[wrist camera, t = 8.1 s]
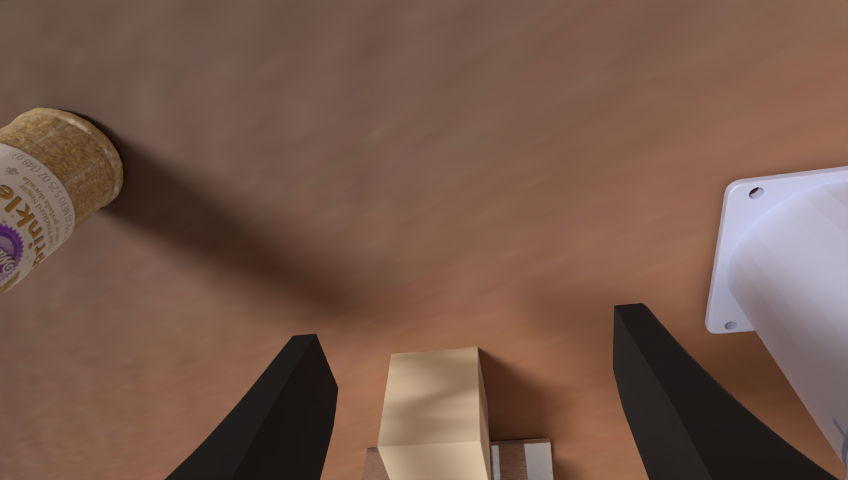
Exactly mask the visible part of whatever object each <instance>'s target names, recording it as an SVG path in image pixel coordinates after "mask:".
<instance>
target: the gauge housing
mask: <svg viewBox="0 0 848 480" xmlns="http://www.w3.org/2000/svg"><path fill="white" fill-rule="evenodd" d="M491 445H492V450H493V469H494V480H553V470H552V457H551V445H550V438H541V439H524V440H506V441H491ZM362 480H390V479H389V476H388V473H387V471H386V468H385V466H384V463H383V460H382V458H381V455H380V453H379V450H378V448H367V454H366V460H365V466H364V471H363V477H362Z"/></svg>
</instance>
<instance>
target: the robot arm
mask: <svg viewBox="0 0 848 480" xmlns="http://www.w3.org/2000/svg"><path fill="white" fill-rule="evenodd" d="M757 187H759V189H758V191H756V192H755V193H753V194H749V193H750V191H751V190H752V189H754V188H757ZM731 321H732V322H731ZM728 322H730V323H728ZM726 323H728V324H726ZM705 326H706V328H707V330H708V331H709V332H711V333H713V334H720V333H732V332H744V331H756V333H757V334H758V336H759V337H760V339H761V340H762V342H763V343H764V345H765V346H766V348H767V349H768V351H769V352H770V354H771V356H772V357H773V359H774V360H775V362H776V363H777V365H778V366H779V368H780V369H781V371H782V372H783V374H784V375H785V377H786V378H787V380H788V381H789V383H790V384H791V386H792V387H793V389H794V391H795V392H796V394H797V395H798V397H799V398H800V400H801V401H802V403H803V404H804V406H805V407H806V409H807V410H808V412H809V413H810V415H811V416H812V418H813V419H814V421H815V423H816V424H817V426H818V427H819V429H820V430H821V432H822V433H823V435H824V436H825V438H826V439H827V441H828V442H829V444H830V445H831V447H832V448H833V450H834V451H835V453H836V454H837V456H838V458H839V459H840V461H841V462H842V464H843V465H844V467H845V468H846V470H847V474H846V477H845V478H844V480H848V166H844V167H836V168H828V169H820V170H812V171H804V172H796V173H788V174H780V175H772V176H764V177H756V178H748V179H740V180H737V181H734V182H732V183H731V184H730V185H729V186H728V187H727V188H726V191H725V195H724V201H723V207H722V214H721V220H720V227H719V233H718V240H717V246H716V253H715V259H714V266H713V272H712V279H711V285H710V291H709V298H708V304H707V311H706V317H705ZM613 370H614V374H615V378H616V382H617V387H618V391H619V395H620V399H621V403H622V406H623V410H624V413H625V415H626V418H627V421H628V424H629V426H630V429H631V432H632V434H633V437H634V440H635V443H636V445H637V448H638V451H639V453H640V456H641V459H642V461H643V464H644V467H645V469H646V472H647V475H648V477H649V480H839V479H837V478H836V477H834V476H833V475H831V474H830V473H828V472H827V471H825V470H824V469H822V468H821V467H820V466H818V465H817V464H815V463H814V462H813V461H811V460H810V459H809V458H807V457H806V456H805V455H803V454H802V453H801V452H799V451H798V450H797V449H795V448H794V447H793V446H791V445H790V444H789V443H787V442H786V441H785V440H784V439H782V438H781V437H780V436H779V435H777V434H776V433H775V432H774V431H772V430H771V429H770V428H769V427H767V426H766V425H765V424H764V423H762V422H761V421H760V420H759V419H758V418H757V417H755V416H754V415H753V414H752V413H751V412H750V411H748V410H747V409H746V408H745V407H744V406H743V405H742V404H740V403H739V402H738V401H737V400H736V399H735V398H734V397H733V396H732V395H730V394H729V393H728V392H727V391H726V390H725V389H724V388H723V387H722V386H721V385H720V384H719V383H718V382H716V381H715V380H714V379H713V378H712V377H711V376H710V375H709V374H708V373H707V372H706V371H705V370H704V369H703V368H702V367H701V366H700V365H699V364H698V363H697V362H696V361H695V360H694V359H693V358H692V357H691V356H690V355H689V354H688V353H687V351H686V350H685V349H684V348H683V347H682V346H681V345H680V344H679V343H678V342H677V341H676V340H675V339H674V337H673V336H672V335H671V334H670V333H669V332H668V331H667V330H666V329H665V327H664V326H663V325H662V324H661V323H660V322H659V321H658V319H657V318H656V317H655V316H654V315H653V313H652V312H651V311H650V310H649V309H648V307H647V306H645V305H644V304H643V303H639V304H628V305H617V306H614V341H613ZM337 394H338V386H337V384H336V382H335V379H334V377H333V374H332V372H331V369H330V367H329V364H328V362H327V360H326V357H325V355H324V352H323V350H322V347H321V345H320V342H319V340H318V338H317V335H316V334H307V335H296V336H292V338H291V339H290V340H289V341H288V342H287V344H286V345H285V346H284V347H283V349H282V350H281V351H280V352H279V354H278V355H277V356H276V357H275V359H274V360H273V361H272V362H271V364H270V365H269V366H268V367H267V369H266V370H265V371H264V372H263V374H262V375H261V376H260V377H259V379H258V380H257V381H256V382H255V384H254V385H253V386H252V387H251V388H250V390H249V391H248V392H247V393H246V394H245V396H244V397H243V398H242V399H241V400H240V402H239V403H238V404H237V405H236V406H235V407H234V409H233V410H232V411H231V412H230V413H229V414H228V415H227V416H226V418H225V419H224V420H223V421H222V422H221V423H220V424H219V425H218V426H217V428H216V429H215V430H214V431H213V432H212V433H211V434H210V435H209V436H208V438H207V439H206V440H205V441H204V442H203V443H202V444H201V445H200V446H199V447H198V448H197V449H196V450H195V451H194V452H193V453H192V454H191V455H190V456H189V457H188V458H187V459H186V460H185V461H184V462H183V463H182V464H180V465H179V466H178V467H177V468H176V469H175V470H174V471H173V472H172V473H171V474H170V475H169V476H168V477H167V478H166V479H165V480H320V477H321V474H322V470H323V466H324V462H325V458H326V454H327V450H328V446H329V443H330V439H331V435H332V430H333V426H334V419H335V412H336V403H337Z"/></svg>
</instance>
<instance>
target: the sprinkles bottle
mask: <svg viewBox="0 0 848 480" xmlns="http://www.w3.org/2000/svg"><path fill="white" fill-rule="evenodd" d="M122 185H123V169H122V162H121V160H120V158H119V154H118V152H117V151H116V149H115V148H114V146H113V144H112V143H111V142H110V140H109V139H108V138H107V137H106V136H105V135H104V134H103V133H102V132H101V131H100V130H98V129H97V128H96V127H95V126H94V125H93V124H91V123H90V122H89V121H87V120H85V119H82V118H80V117H78V116H77V115H75V114H73V113H70V112H67V111H63V110H57V109H53V108H35V109H33V110H31V111H27V112H25V113H23V114H21V115H20V116H18V117H17V118H16V119H15V120H14V121H13V122H12V123H11V124H9V125H8V126H5V127H3V128H1V129H0V295H1V294H3V293H5V292H6V291H8V290H9V289H11V288H12V287H13V286H14V285H16V284H17V283H18V282H19V281H20V280H22V279H23V278H24V277H25V276H26V275H27V274H28V273H30V272H31V271H32V270H33V269H34V268H35V267H36V266H38V265H39V264H40V263H41V262H42V261H43V260H45V259H46V258H47V257H48V256H49V255H50V254H51V253H52V252H54V251H55V250H56V249H57V248H58V247H59V246H60V245H61V244H63V243H64V242H65V241H66V240H67V239H68V238H69V236H70V235H71V233H72V232H73V231H74V230H75V229H76V228H77V227H79V226H80V225H81V224H82V223H83V222H84V221H86V220H87V219H88V218H89V217H90V216H92V215H93V214H94V213H95V212H96V211H97V210H98V209H99V208H100V207H104V206H106V205H108V204H109V203H110V202H111V201H112V200H114V199H115V198H116V197H117V196H118V194H119V192H120V190H121V188H122Z"/></svg>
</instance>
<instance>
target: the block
mask: <svg viewBox="0 0 848 480" xmlns="http://www.w3.org/2000/svg"><path fill="white" fill-rule="evenodd" d="M377 447H378V450H379V453H380V455H381V458H382V460H383V463H384V466H385V468H386V471H387V473H388V476H389V479H390V480H491V472H490V450H489V429H488V407H487V399H486V393H485V388H484V382H483V376H482V371H481V365H480V359H479V354H478V348H477V347H469V348H457V349H446V350H434V351H422V352H410V353H398V354H391V361H390V367H389V374H388V381H387V387H386V394H385V400H384V407H383V413H382V420H381V426H380V433H379V439H378V446H377Z"/></svg>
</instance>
